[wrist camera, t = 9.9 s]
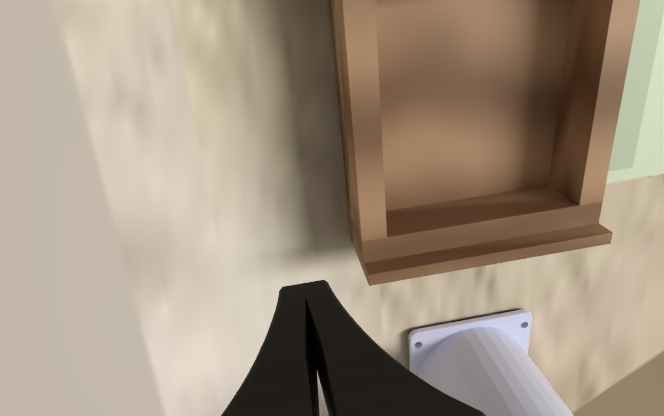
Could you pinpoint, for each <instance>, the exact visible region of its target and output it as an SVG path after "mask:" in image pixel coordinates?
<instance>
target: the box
mask: <svg viewBox="0 0 664 416" xmlns="http://www.w3.org/2000/svg"><path fill="white" fill-rule="evenodd" d="M639 5H640V0H329V6H330V17H331V27H332V38H333V49H334V60H335V70H336V81H337V92H338V103H339V114H340V124H341V135H342V146H343V157H344V167H345V178H346V189H347V200H348V211H349V221H350V232H351V240H352V243H353V245H354V248H355V250H356V253H357V255H358V258H359V261H360V263H361V266H362V268H363V271H364V274H365V276H366V279H367V281H368V284H369V286H371V285H376V284H382V283H388V282H393V281H399V280H405V279H410V278H416V277H422V276H428V275H433V274H439V273H445V272H450V271H456V270H462V269H467V268H473V267H479V266H485V265H490V264H496V263H502V262H507V261H513V260H519V259H525V258H530V257H536V256H542V255H547V254H553V253H559V252H564V251H570V250H576V249H582V248H587V247H593V246H599V245H604V244H610V243H611V238H612V234H613V233H612V232H611V231H609V230H608V229H606V228H605V227H603V226H602V225H600V224H599V217H600V212H601V207H602V201H603V196H604V191H605V186H606V180H607V175H608V170H609V164H610V159H611V154H612V148H613V143H614V138H615V132H616V127H617V122H618V116H619V111H620V106H621V100H622V95H623V90H624V84H625V79H626V74H627V68H628V63H629V58H630V53H631V47H632V42H633V37H634V31H635V26H636V21H637V15H638V10H639Z"/></svg>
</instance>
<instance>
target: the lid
mask: <svg viewBox="0 0 664 416" xmlns="http://www.w3.org/2000/svg"><path fill="white" fill-rule="evenodd" d="M663 173H664V0H640V5H639V10H638V15H637V21H636V26H635V31H634V37H633V42H632V47H631V53H630V58H629V63H628V68H627V74H626V79H625V84H624V90H623V95H622V100H621V106H620V111H619V116H618V122H617V127H616V132H615V138H614V143H613V148H612V154H611V159H610V164H609V170H608V175H607V180H606V184H607V183H613V182H619V181H624V180H630V179H635V178H641V177H647V176H652V175H658V174H663Z"/></svg>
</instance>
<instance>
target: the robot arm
mask: <svg viewBox="0 0 664 416" xmlns="http://www.w3.org/2000/svg"><path fill="white" fill-rule="evenodd" d="M523 322H524V323H523ZM531 322H532V314H531V313H530V312H529V311H528V310H526V309H522V310H516V311H511V312H506V313H500V314H495V315H490V316H484V317H479V318H473V319H468V320H463V321H457V322H452V323H447V324H441V325H436V326H431V327H425V328H420V329H415V330H413V331H411V332H410V334H409V366H410V371H409V370H408V369H406V368H405V367H404V366H402V365H401V364H400V363H399V362H397V361H396V360H395V359H393V358H392V357H391V356H390V355H389V354H388V353H386V352H385V351H384V350H383V349H382V348H381V347H380V346H379V345H377V344H376V343H375V342H374V341H373V340H372V339H371V338H370V337H369V336H368V335H367V334H366V333H365V332H364V331H363V330H362V328H361V327H360V326H359V325H358V324H357V323H356V322H355V321H354V319H353V318H352V317H351V316H350V315H349V313H348V312H347V311H346V310H345V308H344V307H343V306H342V305H341V303H340V302H339V300H338V299H337V298H336V296H335V295H334V293H333V291H332V290H331V288H330V286H329V284H328V282H326V281H325V280H320V281H314V282H309V283H303V284H297V285H291V286H285V287H282V288H281V290H280V291H279V298H278V302H277V306H276V310H275V313H274V316H273V319H272V322H271V325H270V328H269V330H268V333H267V336H266V338H265V340H264V343H263V345H262V347H261V349H260V351H259V354H258V356H257V358H256V360H255V362H254V364H253V366H252V368H251V370H250V371H249V373H248V375H247V377H246V378H245V380H244V382H243V384H242V385H241V387H240V389H239V390H238V392H237V393H236V395H235V396H234V398H233V399H232V401H231V402H230V404H229V405H228V407H227V408H226V410H225V411H224V412H223V414H222V415H221V416H319V400H318V383H317V371H318V375H319V379H320V383H321V386H322V390H323V394H324V398H325V401H326V405H327V409H328V413H329V416H573V414H572V413H571V412H570V410H569V409H568V408H567V406H566V405H565V404H564V402H563V401H562V400H561V398H560V397H559V396H558V394H557V393H556V392H555V390H554V389H553V388H552V386H551V385H550V384H549V382H548V381H547V380H546V378H545V377H544V376H543V374H542V373H541V372H540V370H539V369H538V368H537V366H536V365H535V364H534V362H533V361H532V360H531V359H530V357H529V356H528V355H527V353H528V345H529V337H530V329H531ZM522 323H523V324H522ZM417 342H419V343H418V344H415V343H417Z"/></svg>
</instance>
